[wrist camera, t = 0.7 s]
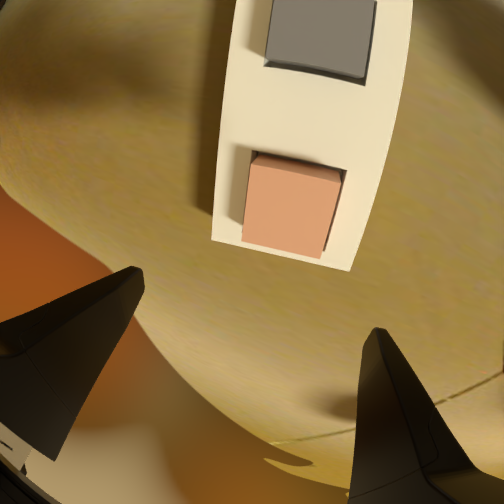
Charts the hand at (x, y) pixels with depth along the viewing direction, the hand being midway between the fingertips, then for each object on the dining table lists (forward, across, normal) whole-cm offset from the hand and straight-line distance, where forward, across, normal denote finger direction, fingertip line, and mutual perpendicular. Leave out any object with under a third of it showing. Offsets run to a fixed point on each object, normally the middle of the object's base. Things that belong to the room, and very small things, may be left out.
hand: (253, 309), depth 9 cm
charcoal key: (+11, 0, -10) cm, 15 cm away
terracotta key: (+11, 0, 0) cm, 11 cm away
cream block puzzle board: (+13, 0, -10) cm, 17 cm away
